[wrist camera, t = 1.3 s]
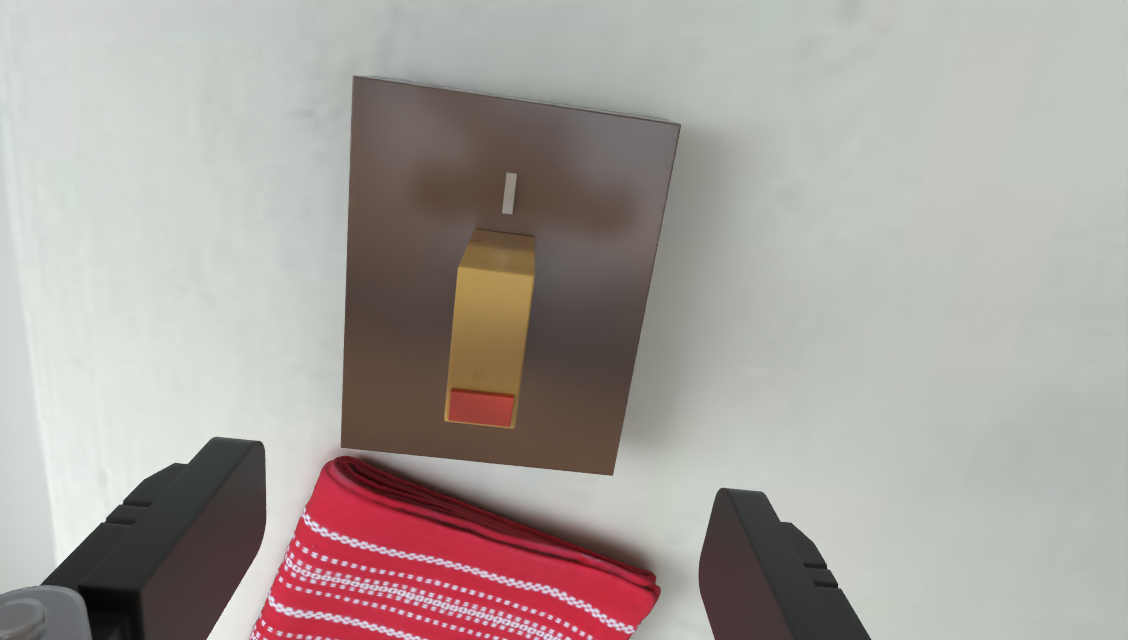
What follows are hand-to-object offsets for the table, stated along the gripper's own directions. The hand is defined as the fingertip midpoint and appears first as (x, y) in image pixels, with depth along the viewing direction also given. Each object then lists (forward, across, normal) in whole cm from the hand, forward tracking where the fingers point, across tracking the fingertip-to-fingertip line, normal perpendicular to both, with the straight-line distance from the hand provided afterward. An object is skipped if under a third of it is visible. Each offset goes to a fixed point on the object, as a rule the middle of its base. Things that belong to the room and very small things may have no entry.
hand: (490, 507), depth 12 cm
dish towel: (+16, +3, +22) cm, 28 cm away
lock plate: (+16, +1, 0) cm, 16 cm away
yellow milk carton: (+13, +1, 0) cm, 13 cm away
